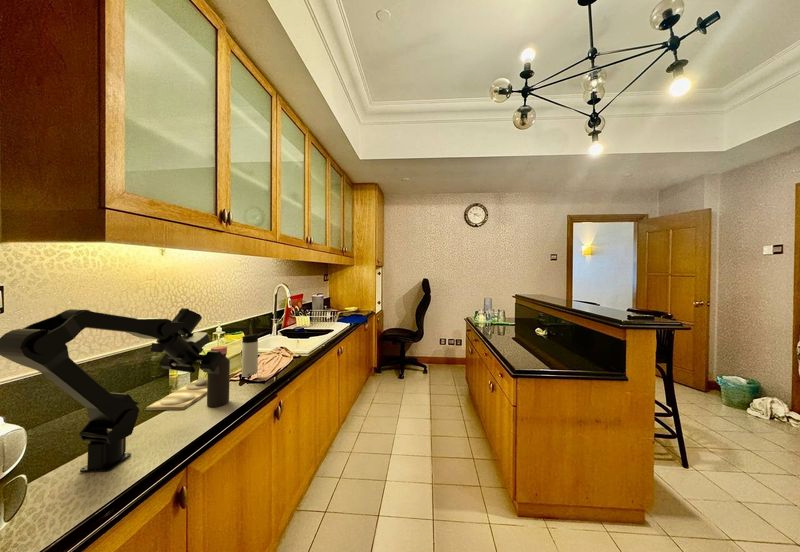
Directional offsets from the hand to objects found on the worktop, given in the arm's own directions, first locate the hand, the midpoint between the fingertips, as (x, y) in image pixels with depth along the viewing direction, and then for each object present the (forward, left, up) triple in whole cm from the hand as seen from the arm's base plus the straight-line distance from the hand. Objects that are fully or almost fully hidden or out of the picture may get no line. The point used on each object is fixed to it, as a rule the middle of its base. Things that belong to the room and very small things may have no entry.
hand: (206, 372), depth 100 cm
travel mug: (+31, -1, -13) cm, 34 cm away
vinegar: (+5, -1, -13) cm, 14 cm away
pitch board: (+14, +14, -13) cm, 24 cm away
